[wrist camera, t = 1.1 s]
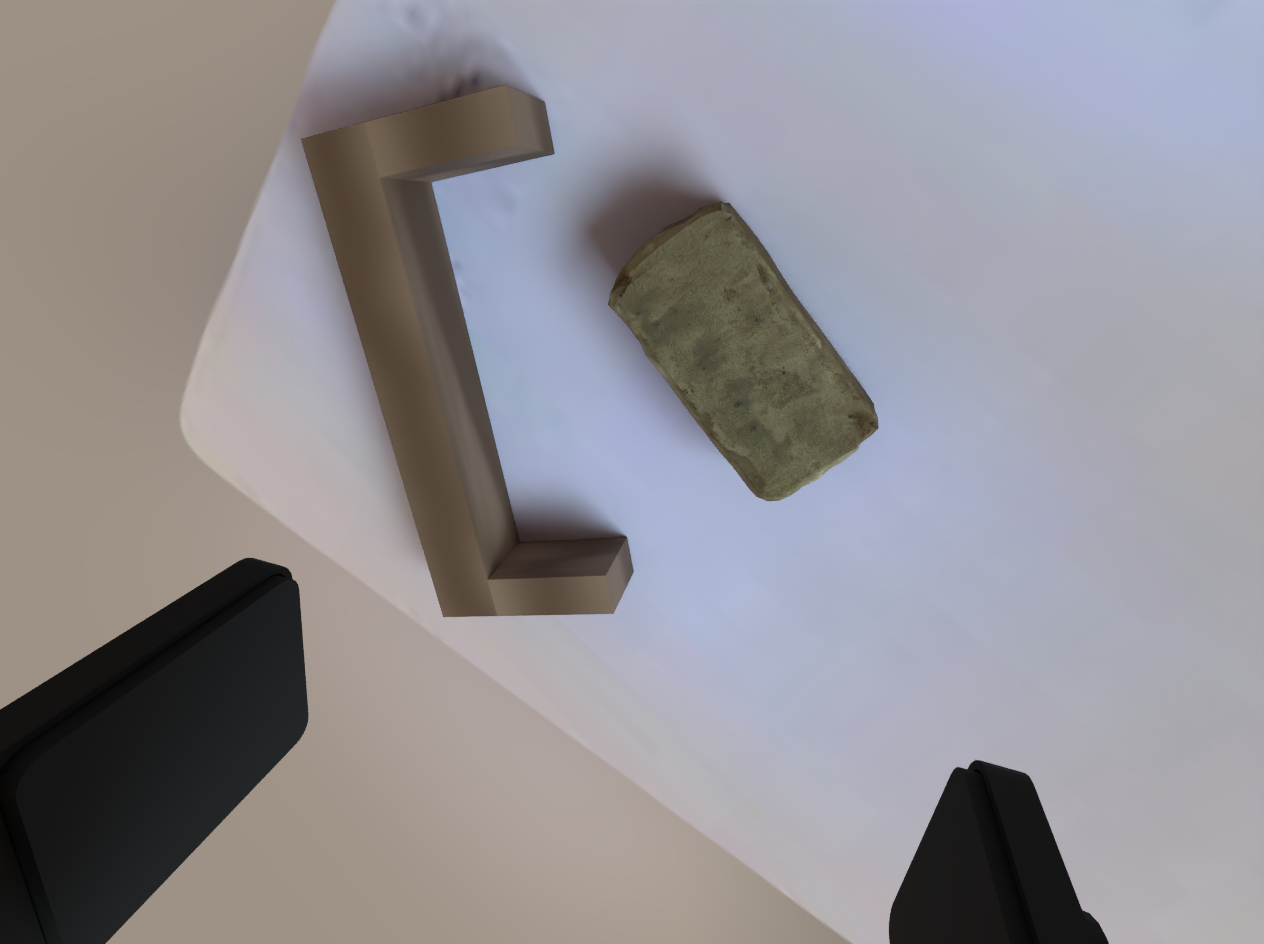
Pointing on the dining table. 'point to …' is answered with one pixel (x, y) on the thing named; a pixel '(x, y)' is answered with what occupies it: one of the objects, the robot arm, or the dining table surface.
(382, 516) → the dining table surface
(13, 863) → the robot arm
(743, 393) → the stone block
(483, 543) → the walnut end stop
